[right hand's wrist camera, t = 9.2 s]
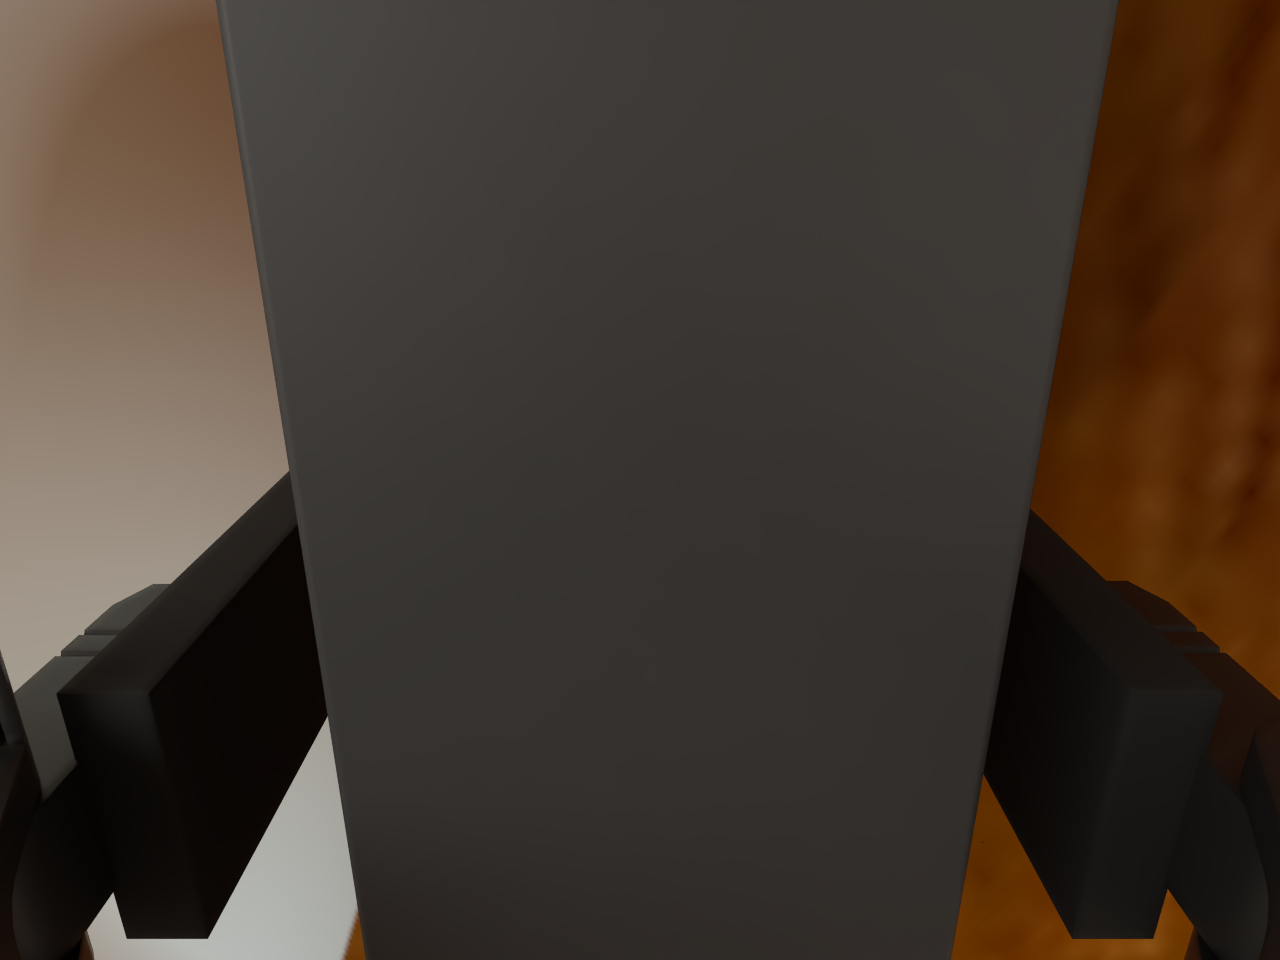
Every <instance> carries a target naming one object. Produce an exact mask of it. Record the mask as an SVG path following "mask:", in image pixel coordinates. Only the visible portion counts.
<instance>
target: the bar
mask: <svg viewBox="0 0 1280 960" xmlns="http://www.w3.org/2000/svg"><path fill="white" fill-rule="evenodd" d="M1118 4H1119V0H216V5H217V11H218V17H219V24H220V30H221V36H222V43H223V49H224V55H225V62H226V68H227V75H228V81H229V88H230V94H231V100H232V107H233V113H234V119H235V126H236V132H237V138H238V145H239V151H240V158H241V164H242V171H243V177H244V183H245V190H246V196H247V202H248V209H249V215H250V222H251V228H252V234H253V241H254V247H255V254H256V260H257V266H258V273H259V279H260V286H261V292H262V298H263V305H264V311H265V317H266V324H267V330H268V337H269V343H270V349H271V356H272V362H273V368H274V375H275V381H276V388H277V394H278V401H279V407H280V413H281V420H282V426H283V432H284V439H285V445H286V451H287V458H288V464H289V471H290V477H291V484H292V490H293V496H294V503H295V509H296V515H297V522H298V528H299V535H300V541H301V547H302V554H303V560H304V567H305V573H306V579H307V586H308V592H309V599H310V605H311V611H312V618H313V624H314V630H315V637H316V643H317V650H318V656H319V662H320V669H321V675H322V682H323V688H324V694H325V701H326V707H327V713H328V720H329V726H330V733H331V739H332V745H333V752H334V758H335V765H336V771H337V777H338V784H339V790H340V796H341V803H342V809H343V815H344V822H345V828H346V835H347V841H348V848H349V854H350V860H351V867H352V873H353V879H354V886H355V892H356V899H357V905H358V911H359V918H360V924H361V931H362V937H363V943H364V950H365V956H366V960H951V954H952V949H953V943H954V937H955V932H956V926H957V920H958V914H959V909H960V903H961V897H962V892H963V886H964V880H965V875H966V869H967V863H968V858H969V852H970V846H971V840H972V835H973V829H974V823H975V818H976V812H977V806H978V801H979V795H980V789H981V784H982V778H983V772H984V766H985V761H986V755H987V749H988V744H989V738H990V732H991V727H992V721H993V715H994V710H995V704H996V698H997V692H998V687H999V681H1000V675H1001V670H1002V664H1003V658H1004V653H1005V647H1006V641H1007V636H1008V630H1009V624H1010V618H1011V613H1012V607H1013V601H1014V596H1015V590H1016V584H1017V579H1018V573H1019V567H1020V562H1021V556H1022V550H1023V544H1024V539H1025V533H1026V527H1027V522H1028V516H1029V510H1030V505H1031V499H1032V493H1033V487H1034V482H1035V476H1036V470H1037V465H1038V459H1039V453H1040V448H1041V442H1042V436H1043V431H1044V425H1045V419H1046V413H1047V408H1048V402H1049V396H1050V391H1051V385H1052V379H1053V374H1054V368H1055V362H1056V357H1057V351H1058V345H1059V339H1060V334H1061V328H1062V322H1063V317H1064V311H1065V305H1066V300H1067V294H1068V288H1069V283H1070V277H1071V271H1072V265H1073V260H1074V254H1075V248H1076V243H1077V237H1078V231H1079V226H1080V220H1081V214H1082V209H1083V203H1084V197H1085V191H1086V186H1087V180H1088V174H1089V169H1090V163H1091V157H1092V152H1093V146H1094V140H1095V135H1096V129H1097V123H1098V117H1099V112H1100V106H1101V100H1102V95H1103V89H1104V83H1105V78H1106V72H1107V66H1108V61H1109V55H1110V49H1111V43H1112V38H1113V32H1114V26H1115V21H1116V15H1117V9H1118Z"/></svg>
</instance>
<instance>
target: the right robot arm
mask: <svg viewBox="0 0 1280 960" xmlns="http://www.w3.org/2000/svg"><path fill="white" fill-rule="evenodd" d="M327 716H328V713H327V707H326V701H325V694H324V688H323V682H322V675H321V669H320V662H319V656H318V650H317V643H316V637H315V630H314V624H313V618H312V611H311V605H310V599H309V592H308V586H307V579H306V573H305V567H304V560H303V554H302V547H301V541H300V535H299V528H298V522H297V515H296V509H295V503H294V496H293V490H292V484H291V477H290V471H289V472H288V473H287V474H286V475H284V476H283V477H282V478H281V479H280V480H279V481H278V482H277V483H276V484H275V485H274V486H273V487H272V488H271V489H270V490H269V491H268V492H267V493H266V494H265V495H263V496H262V497H261V498H260V499H259V500H258V501H257V502H256V503H255V504H254V505H253V506H252V507H251V508H250V509H249V510H248V511H247V512H246V513H245V514H244V515H243V516H241V517H240V518H239V519H238V520H237V521H236V522H235V523H234V524H233V525H232V526H231V527H230V528H229V529H228V530H227V531H226V532H225V533H224V534H223V535H222V536H221V537H220V538H219V539H217V540H216V541H215V542H214V543H213V544H212V545H211V546H210V547H209V548H208V549H207V550H206V551H205V552H204V553H203V554H202V555H201V556H200V557H199V558H198V559H196V560H195V561H194V562H193V563H192V564H191V565H190V566H189V567H188V568H187V569H186V570H185V571H184V572H183V573H182V574H181V575H180V576H179V577H178V578H177V579H176V580H174V581H173V582H172V583H171V584H153V585H151V586H149V587H147V588H145V589H143V590H141V591H139V592H137V593H135V594H133V595H131V596H129V597H128V598H126V599H124V600H122V601H120V602H118V603H116V604H114V605H112V606H111V607H110V608H109V609H108V610H107V611H106V612H105V613H103V614H102V615H101V616H100V617H99V618H98V619H97V620H95V621H94V622H93V623H92V624H91V625H90V626H89V627H88V628H86V629H85V633H84V635H79V636H77V637H76V638H75V639H74V640H73V641H72V642H71V643H70V644H68V645H67V646H66V647H65V648H64V649H63V650H62V651H61V656H55V657H54V658H53V659H52V660H50V661H49V662H48V663H47V664H46V665H45V666H44V667H43V668H41V669H40V670H39V671H38V672H37V673H36V674H35V675H34V676H33V677H31V678H30V679H29V680H28V681H27V682H26V683H25V684H24V685H22V686H21V687H20V688H19V689H18V690H17V691H16V692H15V693H13V690H12V687H11V683H10V680H9V677H8V674H7V670H6V667H5V664H4V661H3V658H2V654H1V651H0V960H94V954H93V948H92V945H91V942H90V939H89V935H88V932H87V929H88V927H89V926H90V925H91V923H92V922H93V920H94V919H95V917H96V916H97V914H98V913H99V912H100V910H101V909H102V907H103V906H104V905H105V903H106V902H107V900H108V899H109V897H110V896H111V894H112V893H113V892H114V896H115V899H116V903H117V906H118V910H119V913H120V917H121V920H122V923H123V927H124V930H125V934H126V938H127V939H208V937H209V935H210V934H211V932H212V930H213V928H214V926H215V924H216V922H217V921H218V919H219V917H220V915H221V913H222V911H223V909H224V908H225V906H226V904H227V902H228V900H229V898H230V896H231V895H232V893H233V891H234V889H235V887H236V885H237V883H238V882H239V880H240V878H241V876H242V874H243V872H244V870H245V869H246V867H247V865H248V863H249V861H250V859H251V857H252V855H253V854H254V852H255V850H256V848H257V846H258V844H259V843H260V841H261V839H262V837H263V835H264V833H265V831H266V830H267V828H268V826H269V824H270V822H271V820H272V818H273V817H274V815H275V813H276V811H277V809H278V807H279V805H280V804H281V802H282V800H283V798H284V796H285V794H286V792H287V791H288V789H289V787H290V785H291V783H292V781H293V779H294V778H295V776H296V774H297V772H298V770H299V768H300V766H301V765H302V763H303V761H304V759H305V757H306V755H307V753H308V752H309V750H310V748H311V746H312V744H313V742H314V740H315V738H316V737H317V735H318V733H319V731H320V729H321V727H322V726H323V724H324V722H325V720H326V718H327ZM983 774H984V776H985V778H986V779H987V781H988V783H989V785H990V787H991V789H992V791H993V792H994V794H995V796H996V798H997V800H998V802H999V804H1000V805H1001V807H1002V809H1003V811H1004V813H1005V815H1006V817H1007V818H1008V820H1009V822H1010V824H1011V826H1012V828H1013V830H1014V831H1015V833H1016V835H1017V837H1018V839H1019V841H1020V843H1021V844H1022V846H1023V848H1024V850H1025V852H1026V854H1027V856H1028V857H1029V859H1030V861H1031V863H1032V865H1033V867H1034V869H1035V870H1036V872H1037V874H1038V876H1039V878H1040V880H1041V882H1042V883H1043V885H1044V887H1045V889H1046V891H1047V893H1048V895H1049V896H1050V898H1051V900H1052V902H1053V904H1054V906H1055V908H1056V909H1057V911H1058V913H1059V915H1060V917H1061V919H1062V921H1063V922H1064V924H1065V926H1066V928H1067V930H1068V932H1069V934H1070V935H1071V937H1072V939H1153V938H1154V934H1155V931H1156V927H1157V924H1158V920H1159V917H1160V913H1161V910H1162V906H1163V903H1164V899H1165V896H1166V893H1167V889H1168V890H1169V891H1170V892H1171V894H1172V895H1173V897H1174V898H1175V900H1176V901H1177V902H1178V904H1179V905H1180V907H1181V908H1182V910H1183V911H1184V912H1185V914H1186V915H1187V917H1188V918H1189V920H1190V921H1191V922H1192V924H1193V925H1194V929H1193V932H1192V935H1191V939H1190V942H1189V945H1188V948H1187V952H1186V955H1185V958H1184V960H1280V700H1279V699H1277V698H1276V697H1275V696H1274V695H1273V694H1272V693H1271V692H1270V691H1268V690H1267V689H1266V688H1265V687H1264V686H1263V685H1262V684H1260V683H1259V682H1258V681H1257V680H1256V679H1255V678H1254V677H1253V676H1251V675H1250V674H1249V673H1248V672H1247V671H1246V670H1245V669H1243V668H1242V667H1241V666H1240V665H1239V664H1238V663H1237V662H1236V661H1234V660H1233V659H1232V658H1231V657H1230V656H1229V655H1228V654H1226V653H1220V647H1219V646H1217V645H1216V644H1215V643H1214V642H1213V641H1212V640H1211V639H1209V638H1208V637H1207V636H1206V635H1205V634H1204V633H1203V632H1197V631H1196V626H1195V625H1194V624H1192V623H1191V622H1190V621H1189V620H1188V619H1187V618H1186V617H1185V616H1183V615H1182V614H1181V613H1180V612H1179V611H1178V610H1177V609H1175V608H1174V607H1173V606H1172V605H1171V604H1170V603H1169V602H1167V601H1165V600H1163V599H1161V598H1159V597H1157V596H1155V595H1153V594H1151V593H1150V592H1148V591H1146V590H1144V589H1142V588H1140V587H1138V586H1136V585H1134V584H1132V583H1130V582H1128V581H1106V580H1105V579H1103V578H1102V577H1101V576H1100V575H1099V574H1098V573H1097V572H1096V571H1095V570H1094V569H1093V568H1092V567H1091V566H1090V565H1089V564H1088V563H1087V562H1086V561H1085V560H1084V559H1083V558H1081V557H1080V556H1079V555H1078V554H1077V553H1076V552H1075V551H1074V550H1073V549H1072V548H1071V547H1070V546H1069V545H1068V544H1067V543H1066V542H1065V541H1064V540H1063V539H1062V538H1061V537H1059V536H1058V535H1057V534H1056V533H1055V532H1054V531H1053V530H1052V529H1051V528H1050V527H1049V526H1048V525H1047V524H1046V523H1045V522H1044V521H1043V520H1042V519H1041V518H1040V517H1039V516H1038V515H1036V514H1035V513H1034V512H1033V511H1032V510H1031V509H1030V510H1029V516H1028V522H1027V527H1026V533H1025V539H1024V544H1023V550H1022V556H1021V562H1020V567H1019V573H1018V579H1017V584H1016V590H1015V596H1014V601H1013V607H1012V613H1011V618H1010V624H1009V630H1008V636H1007V641H1006V647H1005V653H1004V658H1003V664H1002V670H1001V675H1000V681H999V687H998V692H997V698H996V704H995V710H994V715H993V721H992V727H991V732H990V738H989V744H988V749H987V755H986V761H985V766H984V772H983Z"/></svg>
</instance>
